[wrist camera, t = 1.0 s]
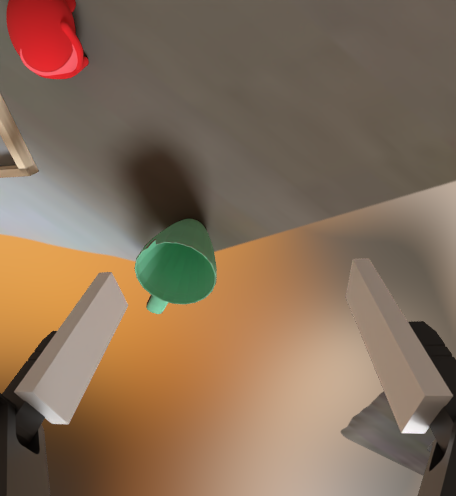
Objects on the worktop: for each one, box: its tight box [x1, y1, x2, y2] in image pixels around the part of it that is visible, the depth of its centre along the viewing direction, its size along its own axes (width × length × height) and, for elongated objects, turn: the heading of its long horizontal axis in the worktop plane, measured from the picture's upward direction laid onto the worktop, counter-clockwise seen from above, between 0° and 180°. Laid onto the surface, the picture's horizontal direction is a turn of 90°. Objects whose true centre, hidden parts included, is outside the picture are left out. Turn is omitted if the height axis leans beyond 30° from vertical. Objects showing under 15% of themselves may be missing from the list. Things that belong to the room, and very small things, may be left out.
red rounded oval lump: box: [7, 0, 89, 79], centre depth 24 cm, size 8×6×6 cm
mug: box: [135, 219, 216, 314], centre depth 36 cm, size 15×10×10 cm
